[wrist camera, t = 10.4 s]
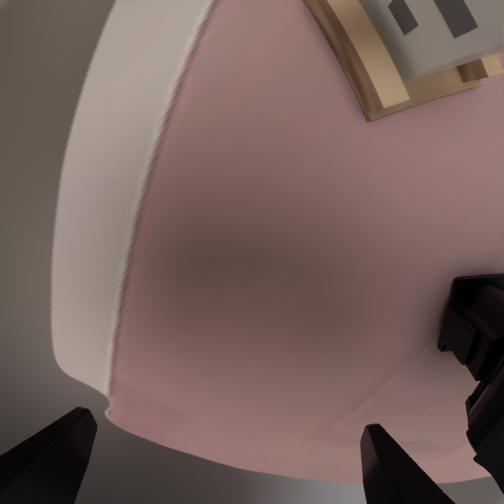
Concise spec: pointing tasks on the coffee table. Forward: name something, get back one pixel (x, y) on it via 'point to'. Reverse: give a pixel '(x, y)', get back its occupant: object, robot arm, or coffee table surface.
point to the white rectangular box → (437, 32)
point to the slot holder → (386, 63)
